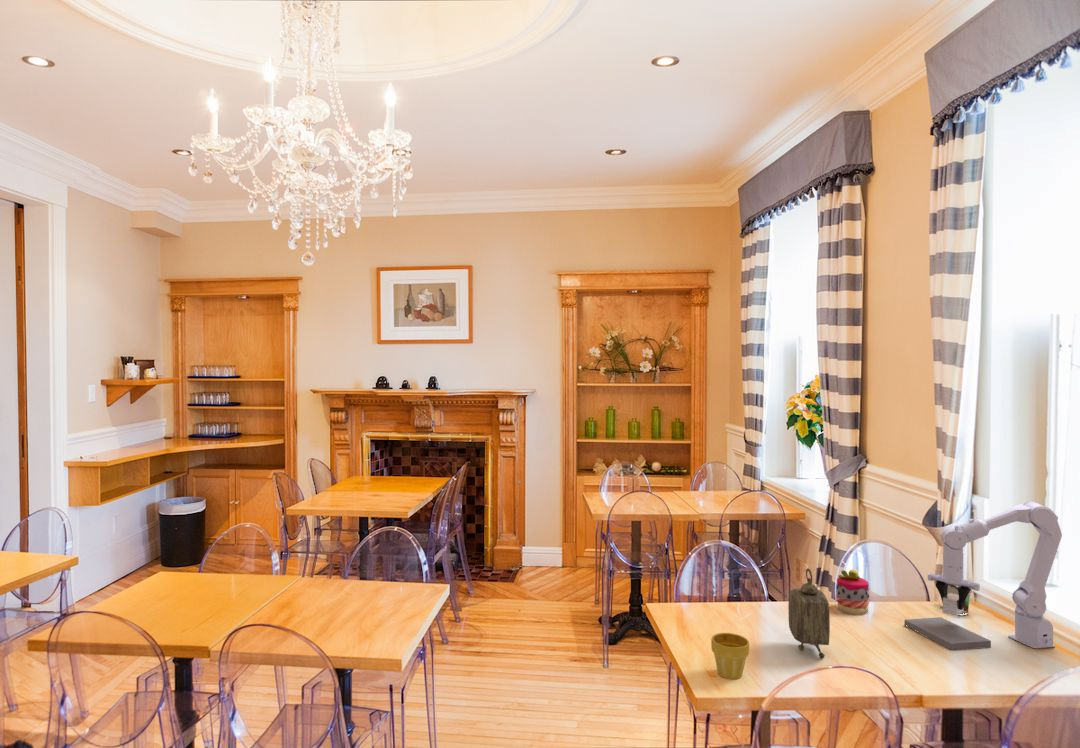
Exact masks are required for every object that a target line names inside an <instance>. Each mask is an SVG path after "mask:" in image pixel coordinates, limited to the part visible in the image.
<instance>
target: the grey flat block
mask: <svg viewBox="0 0 1080 748" xmlns="http://www.w3.org/2000/svg"><path fill="white" fill-rule="evenodd" d="M905 625H907V626H908V627H910V628H912V629H914V630H916V631H918V632H919V633H918V632H917V633H918V634H920V633H921V634H920V635H922V634H923V635H924V637H925V636H927V637H928V638H927V637H926V638H927V639H929V638H930V640H931V639H932V640H931V641H933V640H934V642H935V641H936V642H935V643H937V642H938V643H937V644H939V645H941V646H943V647H944V646H945V647H944V648H947V649H949V650H950V651H957V650H958V651H959V650H972V649H982V648H983V649H984V648H985V649H986V648H992V641H991V640H990V639H988V638H985V636H982V635H980V634H977V633H976V632H973V631H971V630H968V629H967V628H964V627H963V626H960V625H958V624H956V623H954V622H952V621H951V620H947V619H946V618H943V617H940V616H939V617H927V618H926V617H925V618H924V617H923V618H912V619H911V618H909V619H904V626H905ZM908 627H907V628H908ZM910 628H909V629H910ZM912 629H911V630H912ZM914 630H913V631H914ZM916 631H915V632H916ZM923 635H922V636H923Z"/></svg>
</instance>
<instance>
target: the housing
mask: <svg viewBox="0 0 1080 748" xmlns="http://www.w3.org/2000/svg"><path fill="white" fill-rule="evenodd" d="M963 611H964V607H963V609H962V610H960V609H959V595H957V594H952V593H949V594H948V595H946V596H944V597H943V603H942V613H943V614H946V615H949V616H955V617H958V616H959V614H960V613H962V612H963Z"/></svg>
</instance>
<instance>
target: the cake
mask: <svg viewBox="0 0 1080 748" xmlns="http://www.w3.org/2000/svg"><path fill="white" fill-rule="evenodd" d="M837 576H838V577H837V578H836V579H837V580H836V582H837V585H836V590H837V594H836V597H837V599H836V602H837V610H838V611H840V612H842V613H844V614H848V615H853V616H864V615H863V614H866V613H867V612H868V613H869V604H870V600H869V597H870V595H869V581H867V580H866V579H864V578H862V577H860V575H859V572H858V571H857V570H855V569H850V570H849V571H848V572H847V570H845V569H842V570H841V574H838V575H837ZM868 613H867V614H868ZM867 614H866V615H867Z"/></svg>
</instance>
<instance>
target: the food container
mask: <svg viewBox="0 0 1080 748" xmlns="http://www.w3.org/2000/svg"><path fill="white" fill-rule="evenodd" d="M958 588H960V586H955V585H951V584H948V590H947V595H948V594H949V593H952V594H957V595H959V594H958ZM971 594H973V589H971V590H970V592H969V594H968V595H967V597H966V600H965V603H964V611H963V612H962V613H960V614H963V613H964V614H965V613H968V614H969V606H970V595H971Z"/></svg>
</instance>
